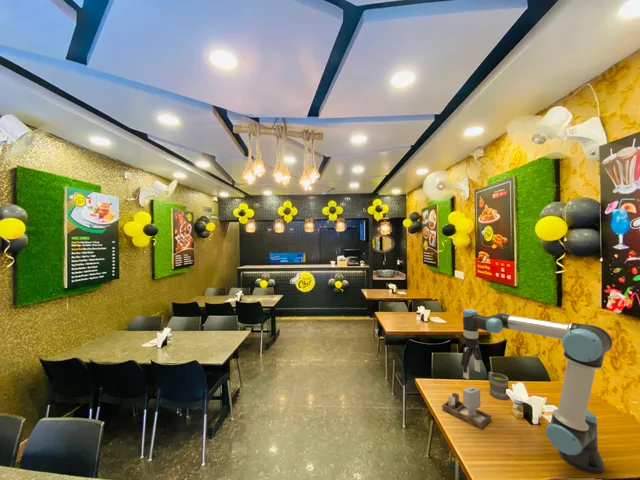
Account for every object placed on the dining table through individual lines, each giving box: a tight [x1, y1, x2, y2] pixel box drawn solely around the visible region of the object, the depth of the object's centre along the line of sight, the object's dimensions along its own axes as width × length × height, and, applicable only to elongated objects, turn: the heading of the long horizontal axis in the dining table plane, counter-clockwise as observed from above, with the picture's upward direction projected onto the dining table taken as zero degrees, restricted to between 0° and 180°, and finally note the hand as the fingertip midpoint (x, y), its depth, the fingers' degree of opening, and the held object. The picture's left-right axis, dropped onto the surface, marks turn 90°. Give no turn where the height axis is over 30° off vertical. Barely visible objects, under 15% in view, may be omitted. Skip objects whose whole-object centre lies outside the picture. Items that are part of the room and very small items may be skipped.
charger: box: [462, 386, 481, 417], centre depth 155 cm, size 5×9×15 cm, turn 112°
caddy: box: [441, 392, 492, 430], centre depth 157 cm, size 22×12×8 cm, turn 36°
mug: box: [488, 371, 510, 400], centre depth 180 cm, size 16×11×12 cm
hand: (471, 374), depth 155 cm, fingers open, 13 cm apart
